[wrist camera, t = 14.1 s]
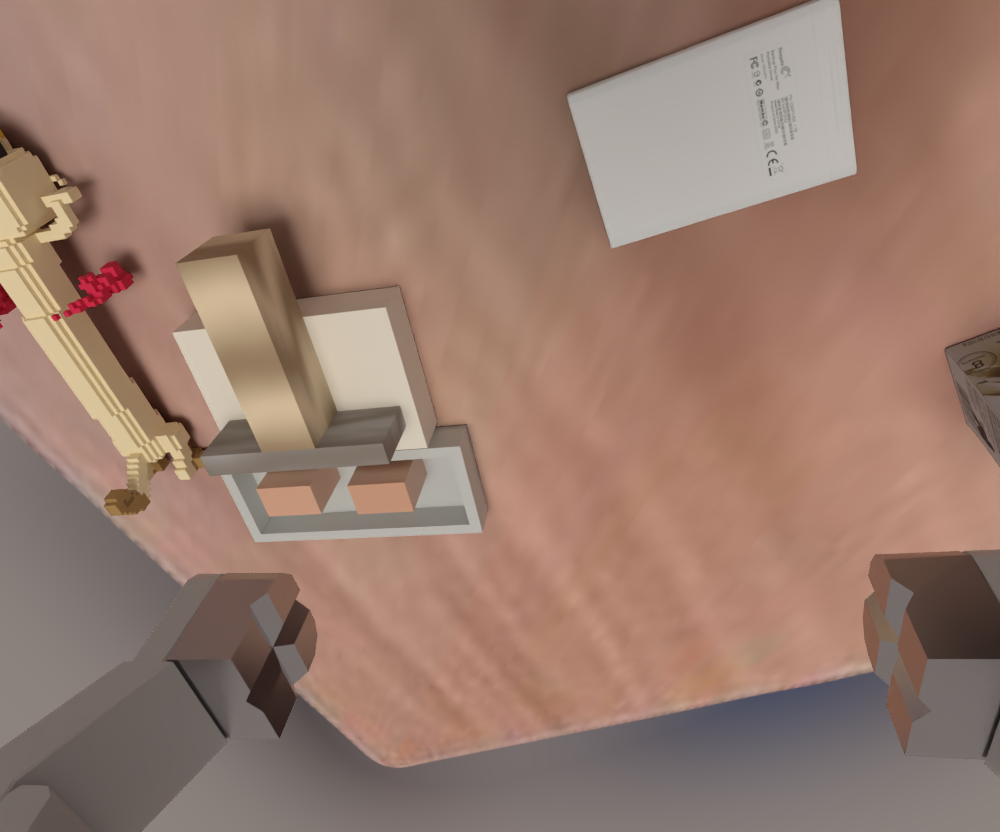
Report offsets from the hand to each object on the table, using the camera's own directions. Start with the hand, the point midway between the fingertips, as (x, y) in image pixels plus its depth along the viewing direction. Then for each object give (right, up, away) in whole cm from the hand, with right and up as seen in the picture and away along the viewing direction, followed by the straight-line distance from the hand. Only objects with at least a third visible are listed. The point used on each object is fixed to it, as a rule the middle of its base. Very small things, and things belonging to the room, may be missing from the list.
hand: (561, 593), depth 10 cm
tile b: (-9, -1, +37) cm, 38 cm away
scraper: (-14, +8, +31) cm, 35 cm away
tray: (-11, -2, +41) cm, 42 cm away
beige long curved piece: (-28, +10, +36) cm, 47 cm away
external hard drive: (+10, +17, +25) cm, 32 cm away
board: (-13, +6, +36) cm, 39 cm away
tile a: (-15, -1, +38) cm, 41 cm away
